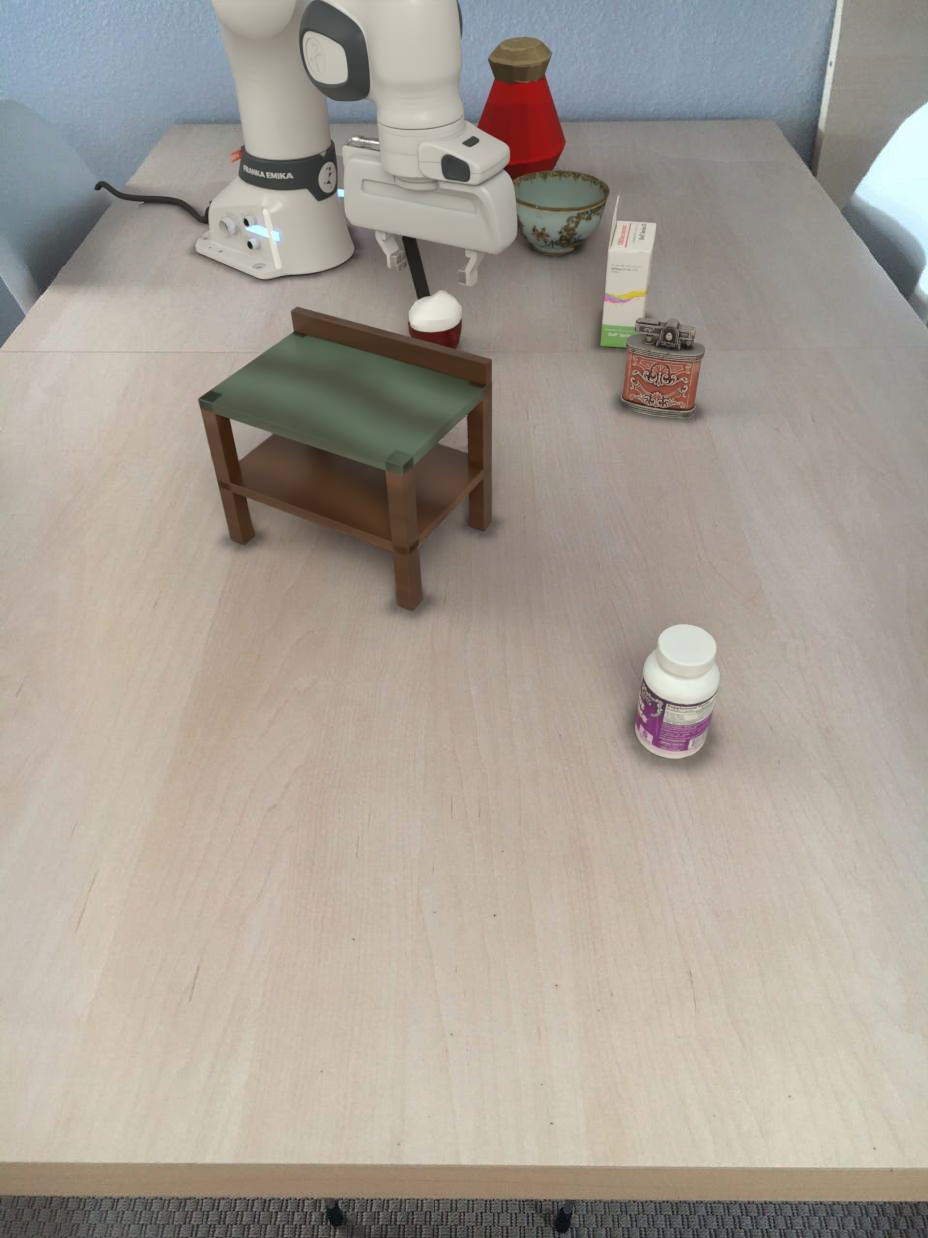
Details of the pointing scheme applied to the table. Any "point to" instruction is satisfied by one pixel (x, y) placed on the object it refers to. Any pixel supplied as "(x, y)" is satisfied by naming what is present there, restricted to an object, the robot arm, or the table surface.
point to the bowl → (558, 209)
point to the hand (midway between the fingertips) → (432, 275)
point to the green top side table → (356, 436)
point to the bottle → (523, 107)
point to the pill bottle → (678, 692)
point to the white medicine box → (626, 279)
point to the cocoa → (431, 306)
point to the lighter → (662, 369)
